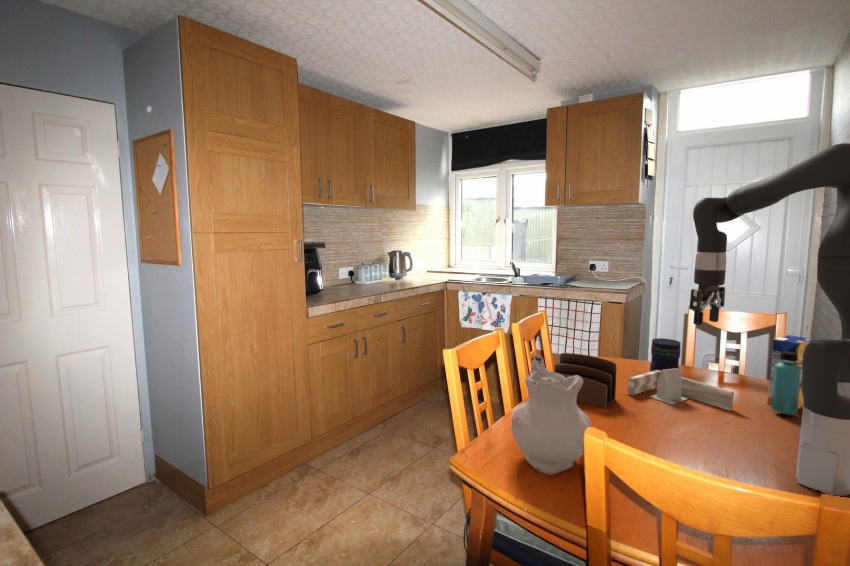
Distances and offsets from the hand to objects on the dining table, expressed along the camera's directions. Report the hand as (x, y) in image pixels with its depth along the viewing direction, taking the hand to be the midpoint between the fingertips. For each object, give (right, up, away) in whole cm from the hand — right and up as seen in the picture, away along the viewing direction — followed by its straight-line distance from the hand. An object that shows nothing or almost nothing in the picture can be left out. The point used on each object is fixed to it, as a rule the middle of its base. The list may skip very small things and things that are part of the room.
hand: (705, 323), depth 127 cm
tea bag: (+1, -28, +21) cm, 35 cm away
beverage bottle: (+29, -30, +8) cm, 42 cm away
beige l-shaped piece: (+2, -28, +18) cm, 34 cm away
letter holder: (-28, -28, +23) cm, 46 cm away
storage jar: (+10, -26, +40) cm, 49 cm away
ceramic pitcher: (-51, -33, -17) cm, 63 cm away
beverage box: (+37, -28, +16) cm, 49 cm away
